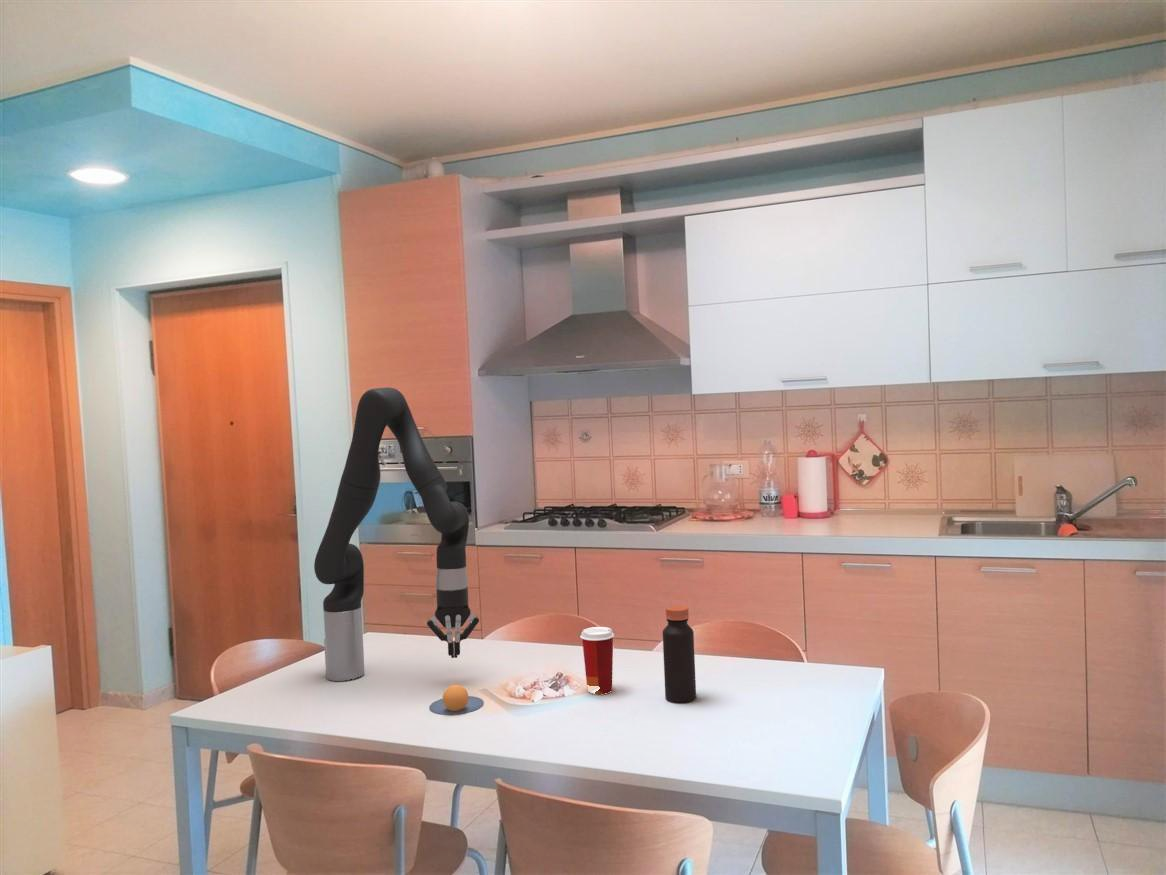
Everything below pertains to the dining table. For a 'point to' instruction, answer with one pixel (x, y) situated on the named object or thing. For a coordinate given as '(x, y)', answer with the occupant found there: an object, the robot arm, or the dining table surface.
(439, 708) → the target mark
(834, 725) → the dining table surface
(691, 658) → the bottle
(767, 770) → the dining table surface
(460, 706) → the ball
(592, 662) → the paper cup
